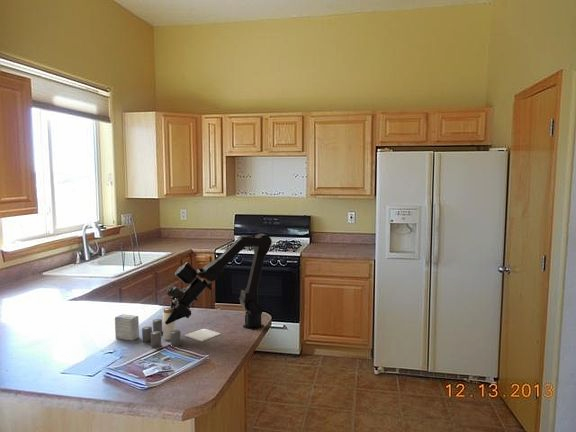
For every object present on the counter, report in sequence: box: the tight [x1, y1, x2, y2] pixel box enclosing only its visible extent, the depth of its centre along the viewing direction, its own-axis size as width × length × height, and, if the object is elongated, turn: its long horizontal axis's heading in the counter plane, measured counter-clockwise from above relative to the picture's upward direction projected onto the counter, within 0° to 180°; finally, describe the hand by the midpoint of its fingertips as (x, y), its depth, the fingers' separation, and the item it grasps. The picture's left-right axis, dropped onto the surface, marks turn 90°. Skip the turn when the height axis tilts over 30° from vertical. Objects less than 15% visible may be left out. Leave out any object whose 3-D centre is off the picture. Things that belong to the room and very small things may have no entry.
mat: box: [184, 328, 221, 342], centre depth 166 cm, size 10×10×1 cm
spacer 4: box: [170, 329, 182, 348], centre depth 156 cm, size 4×4×5 cm
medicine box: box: [114, 313, 140, 341], centre depth 163 cm, size 8×4×9 cm, turn 71°
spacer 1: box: [141, 326, 153, 344], centre depth 160 cm, size 4×4×5 cm
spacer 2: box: [152, 318, 163, 334], centre depth 169 cm, size 4×4×5 cm
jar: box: [162, 307, 176, 341], centre depth 163 cm, size 4×4×12 cm
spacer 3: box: [150, 331, 162, 349], centre depth 155 cm, size 4×4×5 cm
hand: (165, 321), depth 162 cm, fingers closed on jar, 4 cm apart
